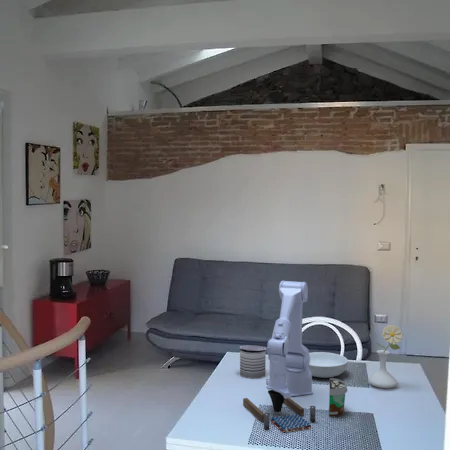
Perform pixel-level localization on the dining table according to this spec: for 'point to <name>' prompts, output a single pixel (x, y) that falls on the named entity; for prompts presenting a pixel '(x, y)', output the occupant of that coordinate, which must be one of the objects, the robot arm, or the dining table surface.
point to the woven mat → (290, 423)
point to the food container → (336, 397)
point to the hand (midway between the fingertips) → (277, 411)
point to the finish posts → (267, 417)
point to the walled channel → (260, 414)
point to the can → (252, 361)
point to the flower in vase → (382, 375)
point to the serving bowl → (326, 364)
